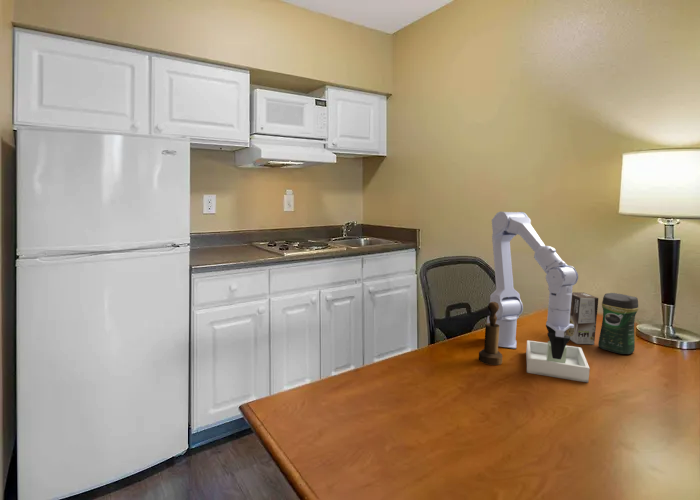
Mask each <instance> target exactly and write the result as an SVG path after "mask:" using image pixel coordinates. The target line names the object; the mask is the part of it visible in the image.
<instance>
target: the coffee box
mask: <svg viewBox="0 0 700 500" xmlns="http://www.w3.org/2000/svg"><path fill="white" fill-rule="evenodd" d="M599 299H600V298H599V297H598V296H594V295H592V294H589V293H586V292H578V291H577V292H575V291H574V292H573V291H572V300H571V311H570V322H569V324H573V325H574V328H569V329H567V330H566V331H565V333H564V336H570V340H569V341H571V342H573V343H574V344H576V345H595V341H596V330H597V317H598V309H599Z"/></svg>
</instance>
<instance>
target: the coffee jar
mask: <svg viewBox="0 0 700 500" xmlns="http://www.w3.org/2000/svg"><path fill="white" fill-rule="evenodd" d="M638 300H639V299H638V297H637V296H631V295H629V294H628V295H627V294H623V293H617V292H608V293H605V294H604V295H603V297H602V302H601V307H602V308H601V309H602V319H601V320H602V322H601V325H600V332H599V337H598V347H599V348H600V349H602V350H605V351H608V352H612V353H615V354H620V355H630V354H631V355H632V354H634V353H635V347H636V346H635V344H636V342H635V340H636V339H635V319H636V315H637V313H638V311H639V301H638Z"/></svg>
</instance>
